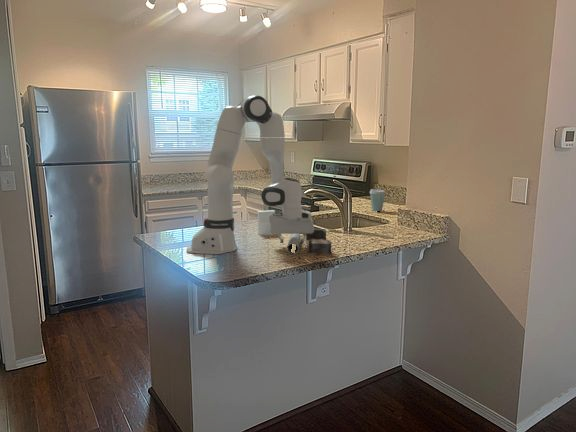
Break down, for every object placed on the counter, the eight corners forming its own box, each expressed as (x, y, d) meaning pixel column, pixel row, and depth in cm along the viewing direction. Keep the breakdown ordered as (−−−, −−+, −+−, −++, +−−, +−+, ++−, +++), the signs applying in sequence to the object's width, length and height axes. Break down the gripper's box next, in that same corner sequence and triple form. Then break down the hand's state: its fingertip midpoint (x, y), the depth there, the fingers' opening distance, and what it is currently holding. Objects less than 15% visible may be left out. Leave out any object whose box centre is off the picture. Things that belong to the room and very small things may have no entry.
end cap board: (308, 255, 185) (308, 243, 184) (305, 239, 214) (305, 229, 213) (331, 255, 185) (331, 243, 184) (325, 239, 214) (325, 229, 213)
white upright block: (272, 231, 232) (272, 209, 230) (277, 234, 224) (277, 212, 222) (256, 232, 230) (255, 210, 227) (260, 235, 221) (260, 213, 219)
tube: (288, 233, 211) (284, 245, 186) (299, 229, 210) (296, 241, 186) (292, 243, 212) (288, 256, 187) (302, 239, 211) (300, 253, 186)
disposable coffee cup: (386, 210, 295) (387, 189, 292) (383, 213, 285) (383, 190, 282) (371, 209, 299) (371, 188, 296) (367, 212, 289) (367, 190, 287)
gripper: (268, 214, 194) (269, 244, 196) (314, 214, 194) (314, 244, 196) (269, 212, 200) (269, 241, 202) (313, 212, 200) (313, 240, 202)
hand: (292, 242), depth 199 cm, fingers open, 8 cm apart
